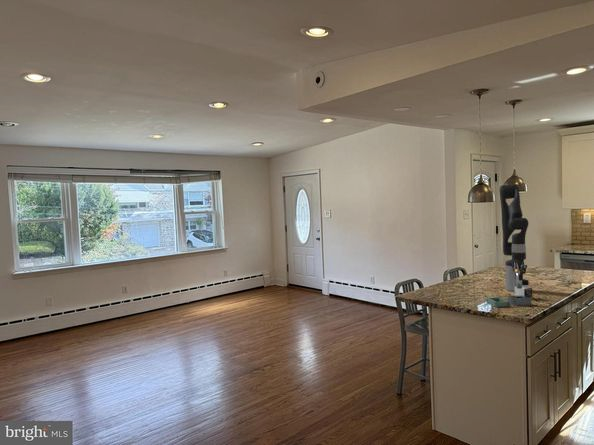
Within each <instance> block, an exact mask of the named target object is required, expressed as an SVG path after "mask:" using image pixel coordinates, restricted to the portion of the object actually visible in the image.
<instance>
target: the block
mask: <svg viewBox="0 0 594 445" xmlns="http://www.w3.org/2000/svg"><path fill="white" fill-rule="evenodd" d="M507 301H508V302H509V305H513V306H515V307H526V306H527V307H528V306H532V298H531V299H530V298H528V297H525V296H523V295H521V296H515V295H508V296H507Z"/></svg>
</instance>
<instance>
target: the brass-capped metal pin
mask: <svg viewBox="0 0 594 445" xmlns="http://www.w3.org/2000/svg"><path fill="white" fill-rule="evenodd" d="M520 271H521V270H520ZM515 272H516V288H518V289H521V288H522V280H521V281H520V280H519V270H517V269H515Z"/></svg>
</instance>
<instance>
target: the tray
mask: <svg viewBox="0 0 594 445" xmlns="http://www.w3.org/2000/svg"><path fill="white" fill-rule="evenodd" d="M486 303H487V304H488V305H491V307H494V308H510V303H509V302H508V300H506V299H504V298H501V297H486Z"/></svg>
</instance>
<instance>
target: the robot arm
mask: <svg viewBox="0 0 594 445" xmlns="http://www.w3.org/2000/svg"><path fill="white" fill-rule="evenodd" d="M499 198H500V207H501V229H502V251H503V255H504V256H509V257H511V259H508V260H506V261H505V291H509V292H515V287H516V272H515V269H517V270H519V280H520V281H521V280H523V279H524V274H526V271H527V269H528V265H527V264H525V260H527V247H526V246H527V245H526V235H527V231H528V228H529V221H528V219H527V218H526V217H523V216H524V215H523V211H522V208H521V206H522V205H521V195H520V189H519V186H518V184H517V183H511V184H504V185H500V186H499ZM508 199H509V200H510V199H512V201H511V202H510V204H508V202H507V200H508ZM519 230H520V232H518V233H514V232H515V231H519ZM513 233H514V234H513ZM510 237H511V242H509V239H510ZM520 270H521V271H520Z"/></svg>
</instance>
